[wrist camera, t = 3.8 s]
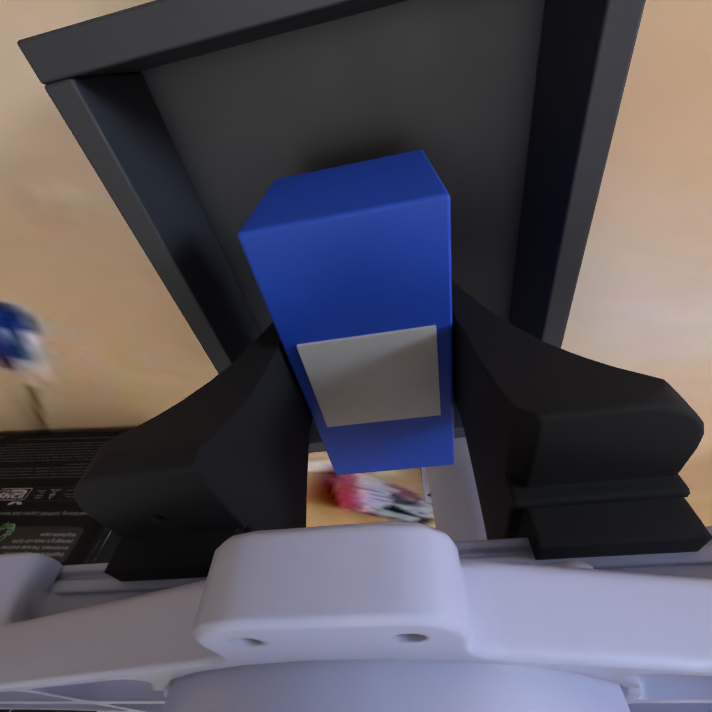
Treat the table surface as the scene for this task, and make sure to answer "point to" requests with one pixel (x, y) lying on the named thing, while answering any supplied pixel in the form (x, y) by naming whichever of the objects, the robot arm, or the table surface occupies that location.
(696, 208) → the table surface
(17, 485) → the graphics card box
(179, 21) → the desk bin
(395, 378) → the blue box
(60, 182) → the table surface
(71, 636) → the robot arm
